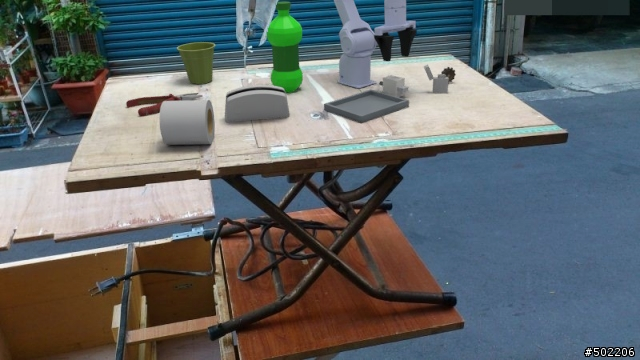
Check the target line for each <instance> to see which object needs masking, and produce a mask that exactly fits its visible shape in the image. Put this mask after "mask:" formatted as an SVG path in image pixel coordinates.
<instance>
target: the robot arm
mask: <svg viewBox="0 0 640 360" xmlns="http://www.w3.org/2000/svg"><path fill="white" fill-rule="evenodd" d="M333 2H334V5H335V7H336V10H337V13H338V15H339V18H340V20H341V23H342V27H341V30H340V31H339V33H338V37H339V40H340V48H341V51H342V52H343V53H342V55H341V56H340V58H339V62H338V64H339V65H338V68H339V69H338V71H339V72H338V73H339V74H338V77H339V78H338V80H337V83H338V84H342V85H345V86H349V87H351V88H356V89H360V88H365V87H368V86H371V85H374V84H377V81H375V80H371V71H372V70H371V69H372V68H371V66H372V64H371V58H372V56H371V55H373V52H374V50H375V49H376V47H377V46H378V47H379V50H380V53H381V57H382V61H384V62H391V60H392V46H393V42H394V38H395V35H390V33H395V32H397V36H398V38H399V43H400V46H399V47H400V54H401V57H407V58H408V57H409V56H410V52H411V47H412V44H413V42H414V39H415V38H416V36H417V35H416V34H417V33H418V30H417V29H416V20H407V0H384V4H383V5H384V24H383V25H380V26H377V27H374V30H372V28H371V27H370V24H369V23H367V22H366V21H364V20H363V19H361V16H360V15H359V14H360V13H359V11H358V9H357V6H356V4H355V1H354V0H333Z"/></svg>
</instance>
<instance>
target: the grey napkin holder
mask: <svg viewBox="0 0 640 360" xmlns="http://www.w3.org/2000/svg"><path fill="white" fill-rule="evenodd" d="M224 107H225V108H224V119H225V122H226V123H230V122H231V123H232V122H239V121H241V122H242V121H252V120H253V121H254V120H255V121H256V120H265V119H266V120H267V119H268V120H269V119H279V117H280V118H289V117H290V115H291V113H290V106H289V102H288V97H287V92H285V90H284V88H282V87H278V86H274V85H273V84H272V85H271V84H270V85H269V84H253V85H245V86H241V87H237V88H234V89H231V90H229V91H227V92H226V93H225V106H224Z"/></svg>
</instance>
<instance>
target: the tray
mask: <svg viewBox="0 0 640 360" xmlns="http://www.w3.org/2000/svg"><path fill="white" fill-rule="evenodd" d="M409 106H410V100H409V99H406V98H403V97H396V96H392V95H389V94H385V93H383V91H382V92H381V91H378V90H375V89H369V90H365V91H362V92H358V93H355V94H352V95H351V94H350V95H349V96H345V97H342V98H339V99H336V100H331V101H328V102H325V103H323V111H325V112H327V113H331V114H334V115H335V116H336V115H337V116H338V117H339V116H340V117H341V118H346V119H348V120H351V121H354V122H357V123H360V124H364V123H366V122H370V121H372V120H375V119H377V118H380V117H384V116H386V115H389V114H392V113H394V112H395V113H396V112H398V111H400V110H403V109H406V108H409Z"/></svg>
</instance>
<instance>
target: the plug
mask: <svg viewBox="0 0 640 360" xmlns="http://www.w3.org/2000/svg"><path fill="white" fill-rule="evenodd" d="M379 86H382V93H385V94H389V95H392V96H396V97H400V98H402V97H403V96H405V93H406V92H409V89H410V88H409V86H407V85H405V77H400V76H397V75H393V74H390V75H387V76H384V77H382V80H381V81H379Z"/></svg>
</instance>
